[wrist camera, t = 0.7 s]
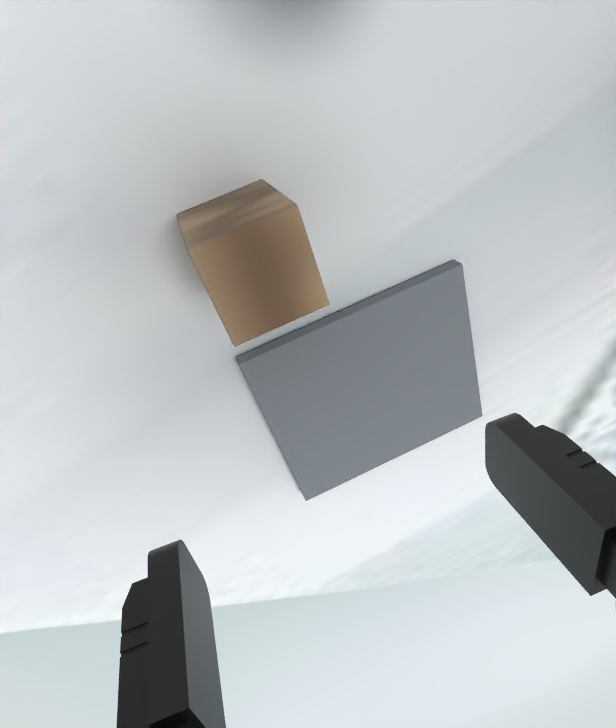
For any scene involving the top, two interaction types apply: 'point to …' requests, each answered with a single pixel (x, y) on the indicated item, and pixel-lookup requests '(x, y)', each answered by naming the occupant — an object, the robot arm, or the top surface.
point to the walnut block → (253, 259)
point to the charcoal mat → (369, 380)
